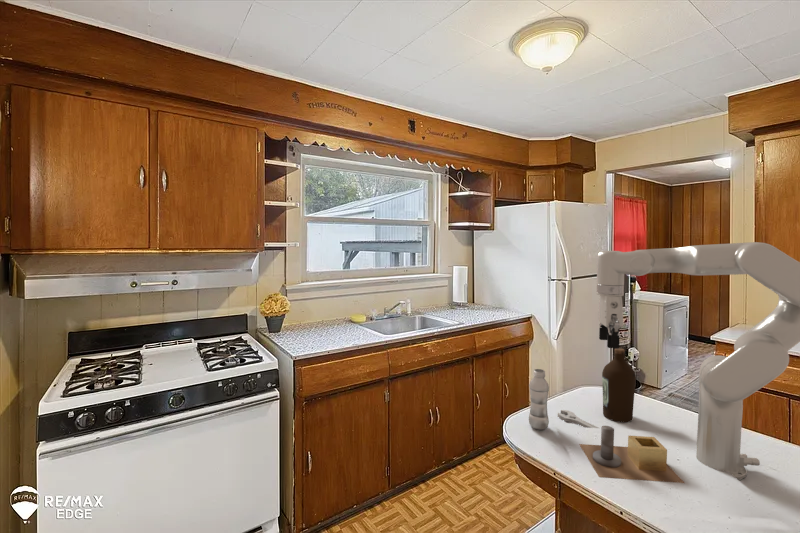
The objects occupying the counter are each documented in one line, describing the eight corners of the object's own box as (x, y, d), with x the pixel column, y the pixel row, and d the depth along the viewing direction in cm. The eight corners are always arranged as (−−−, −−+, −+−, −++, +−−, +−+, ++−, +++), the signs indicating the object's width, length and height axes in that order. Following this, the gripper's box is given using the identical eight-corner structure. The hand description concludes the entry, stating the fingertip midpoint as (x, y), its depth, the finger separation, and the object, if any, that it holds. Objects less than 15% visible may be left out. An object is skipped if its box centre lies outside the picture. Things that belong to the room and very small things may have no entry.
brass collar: (653, 457, 114) (654, 437, 114) (666, 471, 107) (667, 449, 107) (627, 455, 115) (628, 435, 115) (638, 469, 108) (639, 448, 108)
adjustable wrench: (628, 445, 125) (628, 440, 124) (613, 450, 122) (613, 444, 122) (566, 413, 147) (566, 408, 147) (553, 416, 145) (553, 411, 145)
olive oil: (631, 412, 146) (633, 346, 145) (637, 425, 136) (639, 354, 135) (599, 408, 150) (601, 344, 148) (603, 421, 140) (605, 351, 138)
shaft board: (652, 453, 119) (653, 417, 118) (684, 488, 102) (686, 447, 101) (578, 448, 122) (579, 414, 121) (598, 482, 105) (600, 442, 104)
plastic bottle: (536, 433, 131) (537, 375, 130) (524, 424, 138) (525, 368, 136) (552, 430, 133) (554, 373, 132) (540, 422, 140) (541, 366, 138)
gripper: (632, 294, 115) (630, 352, 116) (615, 287, 131) (613, 337, 133) (604, 293, 116) (602, 350, 118) (590, 286, 133) (589, 336, 134)
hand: (608, 343), depth 125 cm, fingers open, 9 cm apart
